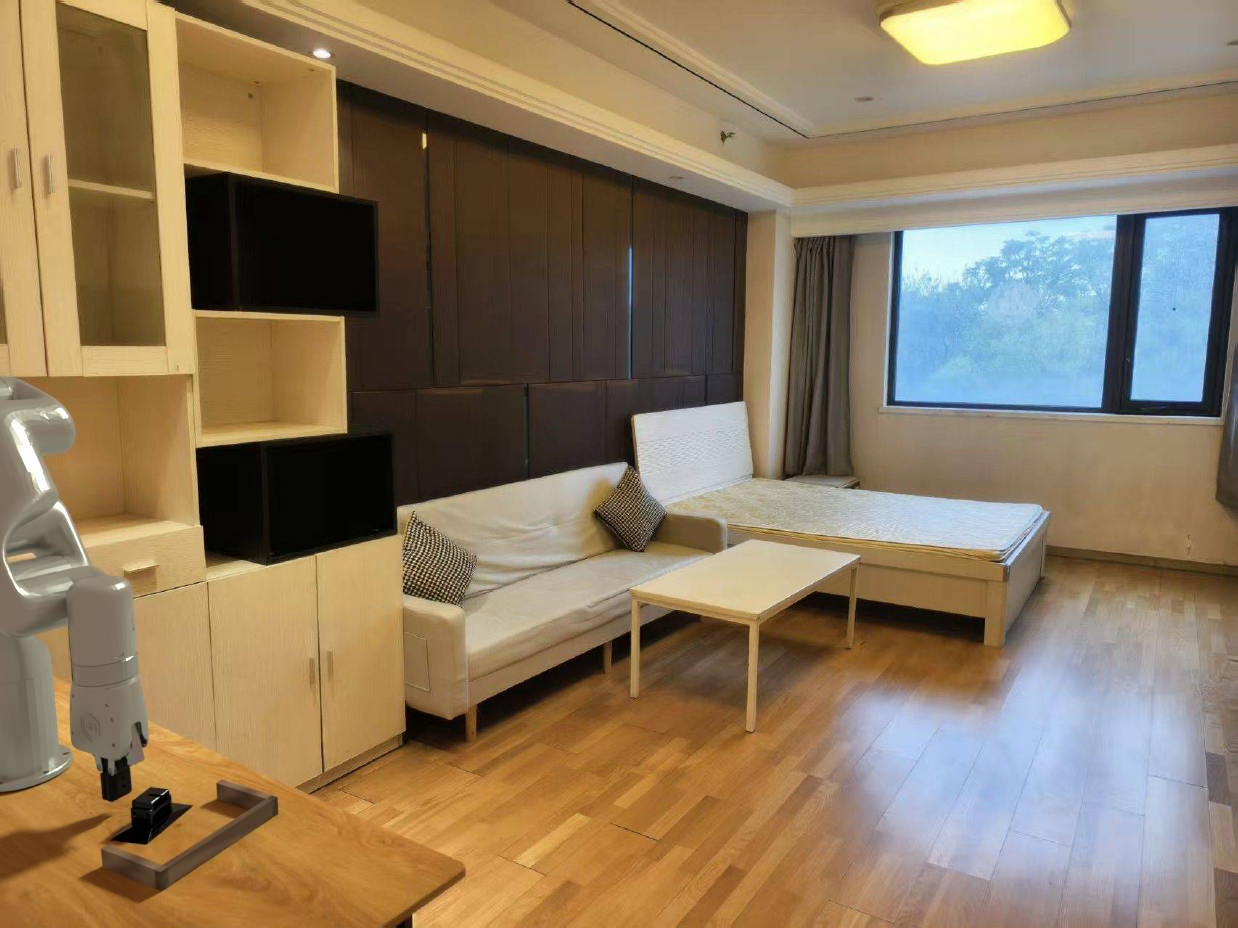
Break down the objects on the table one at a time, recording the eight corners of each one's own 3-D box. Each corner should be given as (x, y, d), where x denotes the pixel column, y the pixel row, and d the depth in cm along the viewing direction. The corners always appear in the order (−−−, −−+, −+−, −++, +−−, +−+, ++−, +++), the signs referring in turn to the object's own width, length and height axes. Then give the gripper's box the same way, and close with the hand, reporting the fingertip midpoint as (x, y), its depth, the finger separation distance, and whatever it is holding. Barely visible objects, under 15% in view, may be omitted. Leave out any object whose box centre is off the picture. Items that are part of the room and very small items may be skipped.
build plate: (143, 857, 107) (140, 824, 107) (92, 851, 109) (89, 818, 108) (205, 803, 119) (203, 773, 119) (159, 798, 121) (157, 768, 120)
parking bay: (102, 867, 104) (100, 848, 104) (222, 795, 121) (222, 779, 120) (161, 891, 100) (160, 871, 100) (278, 813, 116) (277, 796, 116)
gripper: (41, 669, 113) (54, 797, 115) (117, 689, 107) (129, 823, 109) (96, 650, 119) (106, 771, 122) (170, 668, 113) (179, 795, 116)
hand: (117, 795), depth 116 cm, fingers closed
